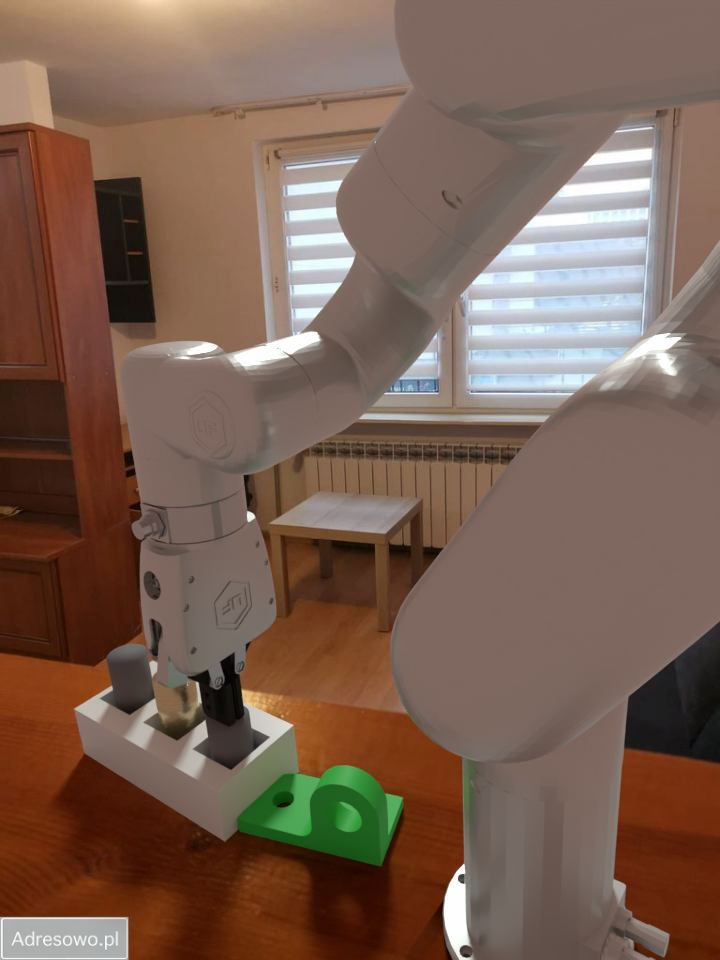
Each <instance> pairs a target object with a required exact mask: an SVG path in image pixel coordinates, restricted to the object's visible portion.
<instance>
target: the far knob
mask: <svg viewBox="0 0 720 960" xmlns="http://www.w3.org/2000/svg"><path fill="white" fill-rule="evenodd" d="M148 653H149V652H148V648H147V646H145V645H144V644H140V643H128V644H124V645H121V646H120V645H119V646H118V647H116V648H114V649H112V650H111V651H110V652H109V653H108V654H107V656H106V664H107V669H108V673H109V677H110V678H109V679H110V681H111V682H110V683H111V686H112V688H113V693H114V697H115V702H116V707H117V709H119V710H121V711H123V712H125V713H127V714H128V715H131V714H132V713H134V712H135V711H137V710H138V709H140V708H141V707H143V706H144V705H146V704H147V703H149V702H150V701H152V700H153V699H155V695H154V690H153V684H152V675H151V669H150V664H149V662H150V660H149V659H150V658H149V654H148Z"/></svg>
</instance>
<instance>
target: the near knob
mask: <svg viewBox="0 0 720 960" xmlns="http://www.w3.org/2000/svg"><path fill="white" fill-rule="evenodd" d="M244 713H245V715H244V716H243V717H242V718H240V719H236V720H235V723H234V724H233V725H231V726H230V727H228V726H226V725H224V724H222V723H220V722H218V721H216V720H214V719H211V718H209V717H208V716H207V717H206V727H207V733H208V739H209V745H210V752H211V758H212V760H213V761H215V762H217V763H219V764H221V765H222V766H224V767H226V768H228V769H230V770H232V769H233V768H234V767H235V766H237V765H238V764H239V763H240V762H241V761H243V760H244V759H245V758H246V757H247V756H248V755H250V754H251V753H252V752H253V751H254V743H253V735H252V728H251V721H250V714H249V710H248V709H247V708H246V707H245V706H244Z"/></svg>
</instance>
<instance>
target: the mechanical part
mask: <svg viewBox="0 0 720 960" xmlns="http://www.w3.org/2000/svg"><path fill="white" fill-rule="evenodd" d="M282 803H283V804H284V803H289V804H290V805H288V806H285V807H278V805H280V804H282ZM403 808H404V797H402V796H399V795H394V794H389V793H385V790H384V789H383V786H381V784H380V783H379V782H378V781H377V780H376V779H375V778H374V776H372V775H371V774H370V773H368V772H366V771H365V770H363V769H360V768H359V767H356V766H351V765H348V764H347V765H345V764H344V765H343V764H342V765H341V764H339V765H334V766H332V767H330V768H328V769H327V770H325V771H324V772H323V774H322V775H321V777H315V776H311V775H306V774H302V773H298V774H283V775H282V776H281V777H280V778H279V779H277V780H276V781H275V782H274V783H273V784H272V785H271V786H270V787H269V788H268V789H267V790H265V791H264V792H263V793H262V794H261V795H260V796H259V797H258V798H257V799H256V800H255V801H254V802H252V803H251V804H250V805H249V806H248V807H247V808H246V809H245V810H244V811H243V812H242V814H241V815H240V817H239V818H238V826H239V829H238V831H239V832H240V833H243V834H247V835H252V836H255V837H260V838H264V839H267V840H272V841H277V842H279V843H280V842H281V843H284V844H288V845H292V846H297V847H300V848H301V847H302V848H305V849H309V850H313V851H317V852H321V853H325V854H329V855H333V856H336V857H341V858H345V859H349V860H354V861H357V862H362V863H365V864H370V865H373V866H378V867H382V866H383V862H384V859H385V857H386V854H387V852H388V849H389V847H390V843H391V841H392V839H393V836H394V833H395V831H396V828H397V825H398V822H399V820H400V817H401V815H402V811H403Z"/></svg>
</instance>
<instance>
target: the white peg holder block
mask: <svg viewBox="0 0 720 960" xmlns="http://www.w3.org/2000/svg"><path fill="white" fill-rule="evenodd" d="M149 664H150V669H151V675H152V677H153V675H154V674H155V673H156V672H157V664H158V661H156V660H151V661H149ZM196 687H197V693H198V699H199V705H200V711H201V717H202V723H201V724H199V725H198V726H197V727H195V728H194V729H193V730H191V731H190V732H189V733H187V734H186V735H185V736H183V737H182V738H181V739H179V740H178V741H176V740H174V739H173V738H171V737H169V736H167V735H165V734H163V733H162V732H161V727H160V721H159V716H158V711H157V706H156V700H155V699H153V700H152V701H150V702H149V703H147V704H146V705H144V706H143V707H141V708H140V709H138V710H137V711H135V712H134V713H132V714H131V715H128V714H127V713H125V712H123V711H121V710H119V709H117V707H116V702H115V697H114V693H113V688H112V685H111V686H109V687H107V688H105V689H104V690H102V691H100V693H97V694H96V695H94V696H92V697H91V698H89V699H88V700H86V701H84V702H82V703H81V704H79V705H77V706H76V707H74V708H73V711H74V715H75V718H76V719H75V720H76V723H77V727H78V732H79V736H80V739H81V744H82V749H83V753H84V754H85V755H87V756H88V757H89V758H91V759H93V760H95V761H96V762H97V763H99V764H100V765H102V766H104V767H105V768H107V769H109V770H110V771H111V772H113V773H115V774H117V775H118V776H120V777H121V778H123V779H125V780H126V781H128V782H129V783H131V784H133V785H134V786H135V787H137V788H139V789H140V790H142V791H143V792H145V793H147V794H148V795H150V796H152V797H154V798H155V799H157V800H158V801H160V802H161V803H163V804H164V805H166V806H168V807H169V808H171V809H172V810H174V811H176V812H177V813H179V814H180V815H182V816H184V818H185V817H186V818H187V819H188V820H189V821H192V823H194V824H196V825H197V826H199V827H201V828H203V829H204V830H206V831H207V832H209V833H210V834H212V835H213V836H216V837H217V838H218V839H220V840H222V841H223V842H227V840H228V839H230V837H232V836H233V835H234V834H235V833H236V832H237V831H239V826H238V818H239V817H240V815H241V814H242V812H243V811H244V810H245V809H246V808H247V807H248V806H249V805H250V804H251V803H252V802H254V801H255V800H256V799H257V798H258V797H259V796H260V795H261V794H262V793H263V792H264V791H265V790H267V789H268V788H269V787H270V786H271V785H272V784H273V783H274V782H275V781H276V780H277V779H279V778H280V777H281V776H282V775H283V774H300V773H299V772H300V771H299V769H300V767H299V762H298V761H299V760H298V752H297V744H296V736H295V735H296V734H295V726H294V724H291V723H290V722H287V721H285V720H284V719H281V718H279V717H277V716H274V715H272V714H270V713H268V712H266V711H264V710H261V709H259V708H257V707H255V706H252V705H251V704H248V703H246V702H244V701H243V705H244V706H245V707H246V708H247V709H248V710H249V714H250V721H251V728H252V735H253V743H254V751H253V752H252V753H251V754H250V755H248V756H247V757H246V758H245V759H244V760H243V761H241V762H240V763H239V764H238V765H237V766H235V767H234V768H233V769H232V770H230V769H228V768H226V767H224V766H222V765H221V764H219V763H217V762H215V761H213V760H212V758H211V752H210V745H209V739H208V733H207V727H206V717H207V716H206V715H205V713H204V711H203V709H202V702H201V695H200V689H199V683H198V682H196Z"/></svg>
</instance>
